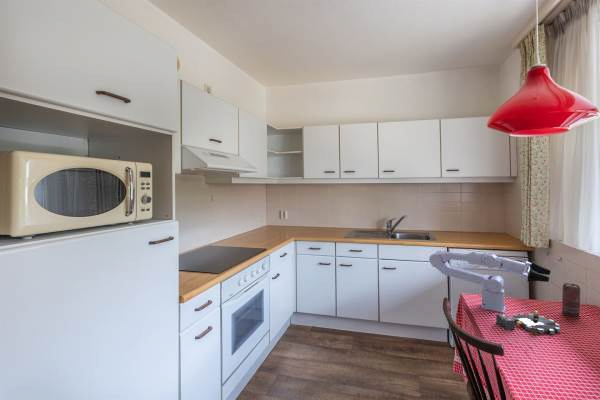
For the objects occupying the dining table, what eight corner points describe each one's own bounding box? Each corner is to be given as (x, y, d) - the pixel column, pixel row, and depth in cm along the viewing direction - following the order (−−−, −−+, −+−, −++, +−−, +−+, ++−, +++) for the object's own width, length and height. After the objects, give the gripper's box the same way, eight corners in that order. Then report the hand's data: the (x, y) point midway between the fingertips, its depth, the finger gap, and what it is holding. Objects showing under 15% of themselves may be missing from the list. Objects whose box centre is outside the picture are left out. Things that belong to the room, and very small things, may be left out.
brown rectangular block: (531, 333, 125) (531, 327, 125) (531, 332, 126) (531, 326, 125) (537, 335, 123) (537, 329, 123) (537, 334, 124) (537, 328, 124)
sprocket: (510, 326, 131) (511, 317, 130) (514, 313, 143) (514, 305, 143) (560, 338, 120) (560, 328, 120) (559, 323, 133) (559, 314, 132)
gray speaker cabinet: (514, 329, 128) (514, 320, 128) (505, 330, 128) (505, 320, 128) (505, 323, 134) (505, 314, 134) (496, 323, 134) (496, 314, 134)
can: (571, 311, 144) (572, 282, 144) (583, 317, 138) (584, 287, 137) (558, 311, 145) (559, 282, 144) (568, 317, 139) (569, 287, 138)
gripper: (512, 264, 137) (550, 274, 129) (516, 253, 148) (552, 262, 139) (509, 278, 139) (546, 289, 131) (514, 266, 150) (549, 275, 141)
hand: (549, 276), depth 135 cm, fingers open, 7 cm apart
